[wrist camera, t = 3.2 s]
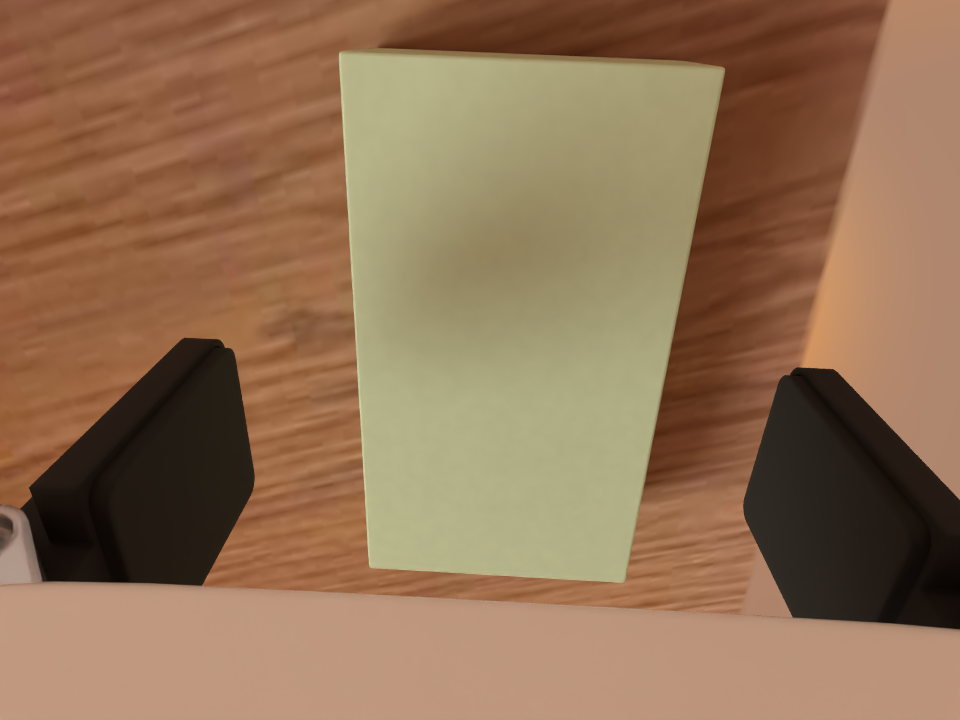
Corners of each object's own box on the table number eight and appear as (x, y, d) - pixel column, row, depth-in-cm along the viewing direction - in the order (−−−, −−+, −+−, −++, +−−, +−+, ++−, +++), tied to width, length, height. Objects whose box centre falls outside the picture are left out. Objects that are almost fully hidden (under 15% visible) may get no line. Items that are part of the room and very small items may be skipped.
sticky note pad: (371, 47, 13) (337, 50, 11) (683, 60, 13) (727, 67, 11) (388, 493, 19) (368, 568, 16) (609, 506, 19) (625, 584, 16)
